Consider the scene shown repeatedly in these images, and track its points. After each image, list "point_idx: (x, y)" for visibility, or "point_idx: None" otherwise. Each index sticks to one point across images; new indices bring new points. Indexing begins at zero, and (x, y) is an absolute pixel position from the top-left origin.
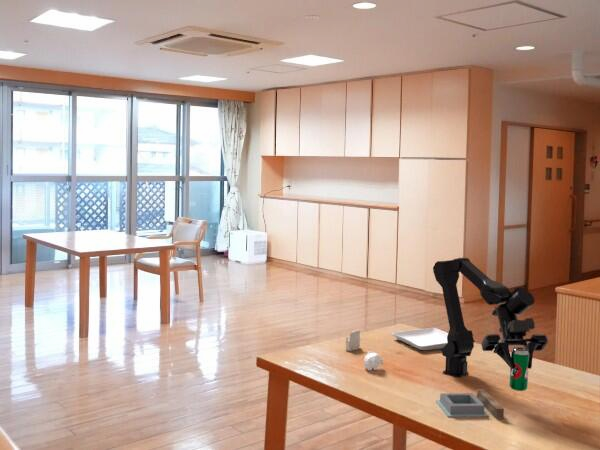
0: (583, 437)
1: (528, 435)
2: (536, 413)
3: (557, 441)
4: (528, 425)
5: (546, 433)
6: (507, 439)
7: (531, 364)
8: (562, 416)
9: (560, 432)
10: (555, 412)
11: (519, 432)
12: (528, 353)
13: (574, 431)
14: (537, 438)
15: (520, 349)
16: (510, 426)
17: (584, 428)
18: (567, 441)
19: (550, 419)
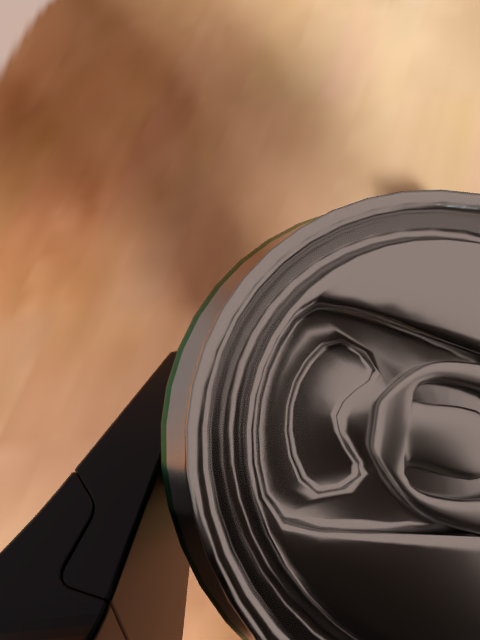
0: (67, 49)
1: (329, 58)
2: None
3: (212, 5)
4: (291, 170)
5: (231, 83)
6: (441, 14)
7: (159, 370)
8: (45, 301)
9: (155, 96)
10: (59, 362)
11: (363, 87)
12: (223, 293)
13: (77, 111)
14: (296, 30)
15: (469, 409)
16: (391, 153)
17: (5, 147)
18: (165, 7)
19: (136, 254)
